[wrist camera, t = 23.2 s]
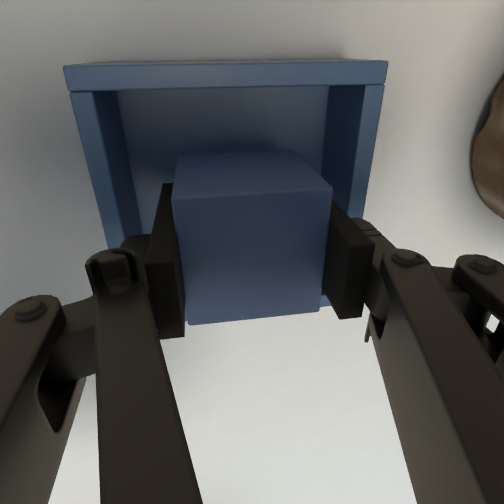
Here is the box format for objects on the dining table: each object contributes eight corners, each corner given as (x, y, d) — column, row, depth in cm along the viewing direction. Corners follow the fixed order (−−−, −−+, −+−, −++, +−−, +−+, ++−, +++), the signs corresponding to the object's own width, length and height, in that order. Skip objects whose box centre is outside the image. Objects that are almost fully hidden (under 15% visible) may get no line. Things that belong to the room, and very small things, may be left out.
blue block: (176, 154, 14) (170, 197, 10) (293, 149, 15) (334, 187, 11) (189, 257, 17) (188, 326, 13) (288, 249, 17) (319, 312, 13)
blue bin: (94, 62, 15) (61, 65, 11) (343, 58, 17) (389, 60, 13) (139, 276, 21) (128, 328, 17) (321, 260, 23) (348, 304, 19)
